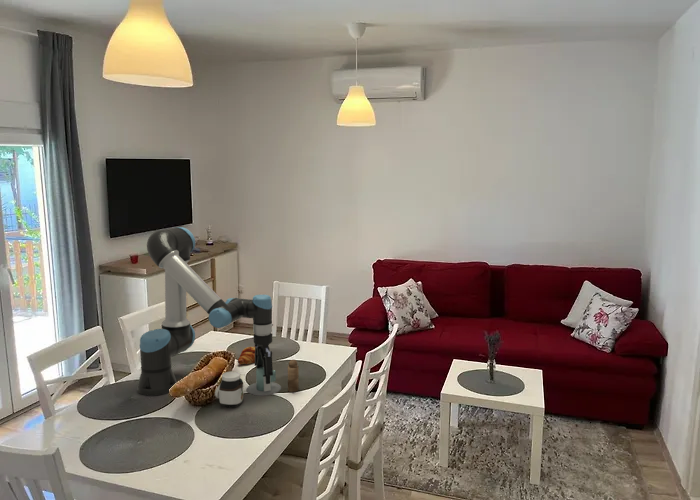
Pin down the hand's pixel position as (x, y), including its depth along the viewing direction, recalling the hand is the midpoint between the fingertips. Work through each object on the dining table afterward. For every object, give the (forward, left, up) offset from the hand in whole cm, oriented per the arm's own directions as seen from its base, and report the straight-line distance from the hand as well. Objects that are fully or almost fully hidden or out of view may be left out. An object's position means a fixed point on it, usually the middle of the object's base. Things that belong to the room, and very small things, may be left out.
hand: (263, 387), depth 222 cm
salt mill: (+10, -7, -1) cm, 12 cm away
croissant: (+8, +35, -1) cm, 36 cm away
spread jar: (-17, -6, -1) cm, 18 cm away
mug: (0, 0, 0) cm, 0 cm away
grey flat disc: (0, 0, -1) cm, 1 cm away
